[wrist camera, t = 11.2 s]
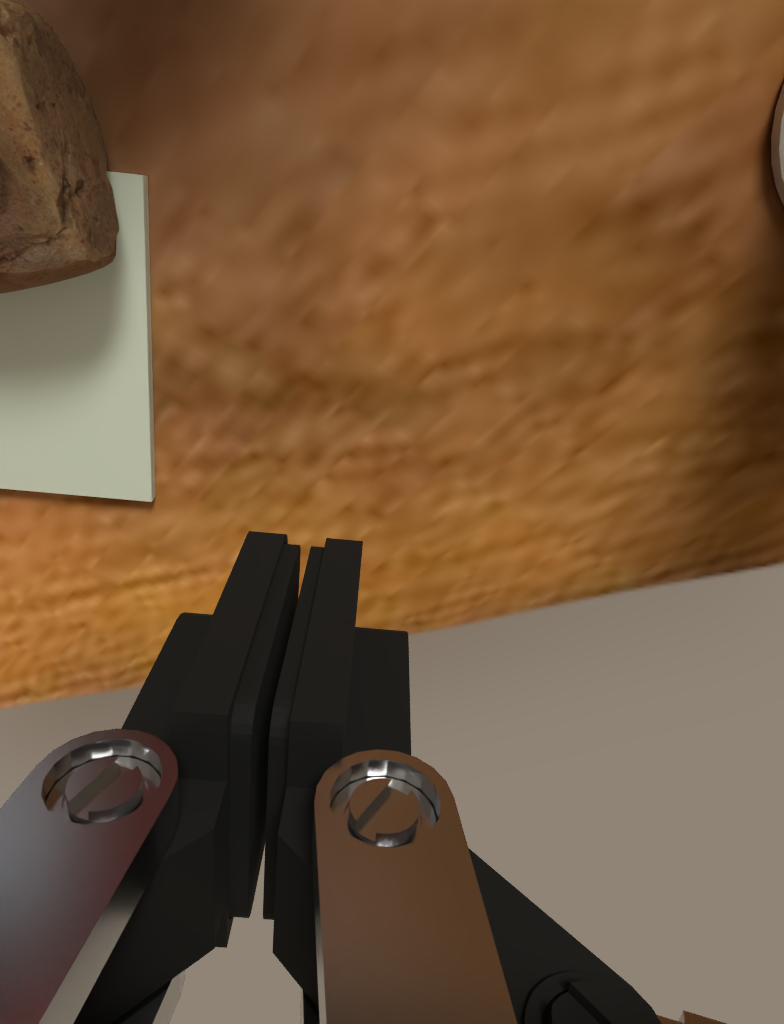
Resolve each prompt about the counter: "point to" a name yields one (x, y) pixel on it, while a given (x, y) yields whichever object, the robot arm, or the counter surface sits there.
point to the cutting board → (83, 372)
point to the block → (48, 161)
